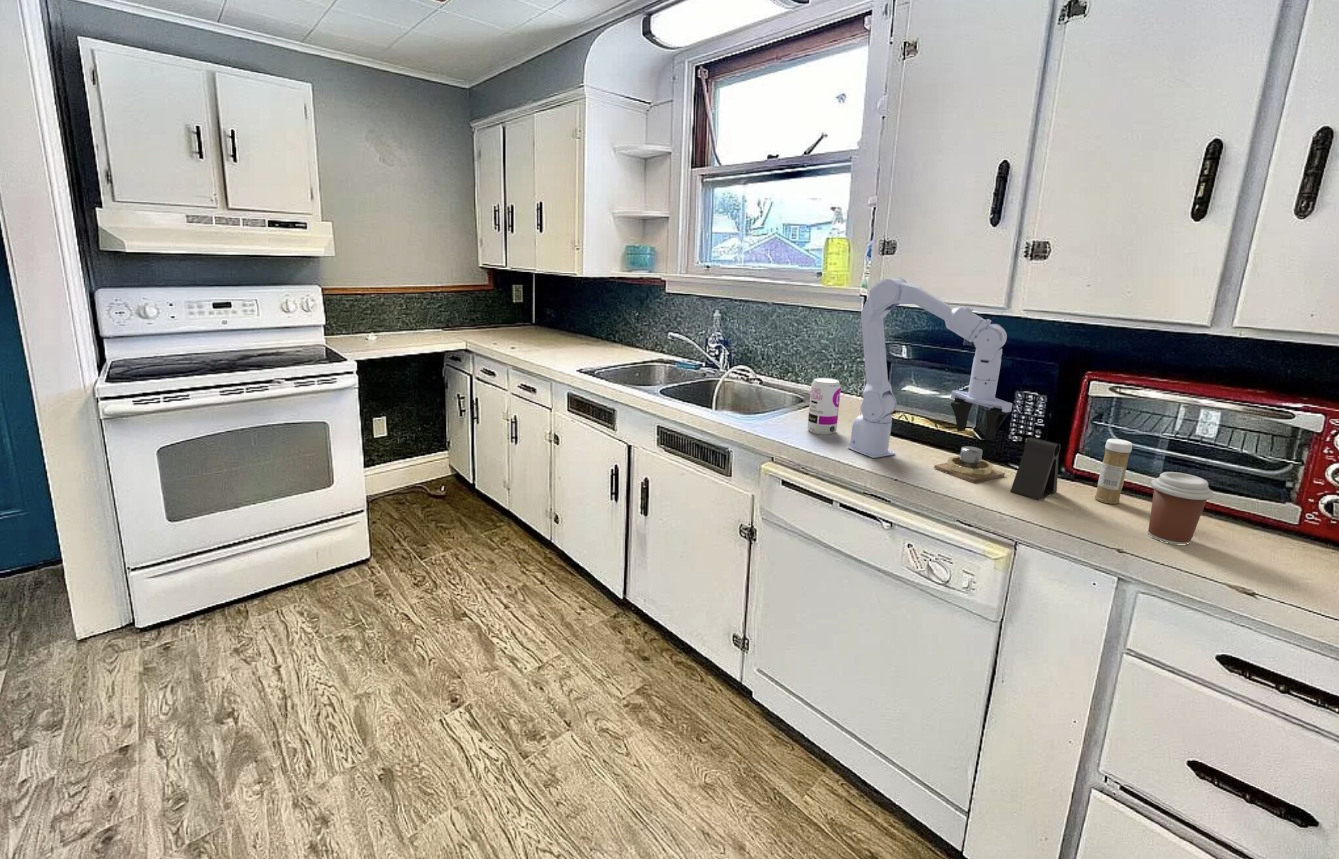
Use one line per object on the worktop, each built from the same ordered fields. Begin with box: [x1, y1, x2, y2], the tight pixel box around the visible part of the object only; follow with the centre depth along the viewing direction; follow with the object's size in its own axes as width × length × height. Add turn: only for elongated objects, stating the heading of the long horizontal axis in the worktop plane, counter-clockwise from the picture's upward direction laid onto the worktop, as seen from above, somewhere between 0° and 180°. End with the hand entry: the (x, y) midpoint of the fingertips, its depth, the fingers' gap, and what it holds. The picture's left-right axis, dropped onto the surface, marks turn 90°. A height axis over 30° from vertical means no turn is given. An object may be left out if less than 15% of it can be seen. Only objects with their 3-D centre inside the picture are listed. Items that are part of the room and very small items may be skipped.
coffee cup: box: [1147, 471, 1214, 545], centre depth 119 cm, size 9×9×12 cm
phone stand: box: [1009, 436, 1061, 501], centre depth 140 cm, size 9×6×12 cm, turn 127°
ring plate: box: [933, 455, 1006, 484], centre depth 153 cm, size 11×11×2 cm
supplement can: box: [807, 377, 842, 436], centre depth 183 cm, size 8×8×15 cm
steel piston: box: [959, 445, 983, 468], centre depth 153 cm, size 5×5×5 cm
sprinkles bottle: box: [1094, 438, 1134, 505], centre depth 136 cm, size 5×5×13 cm
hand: (974, 434), depth 151 cm, fingers open, 7 cm apart
